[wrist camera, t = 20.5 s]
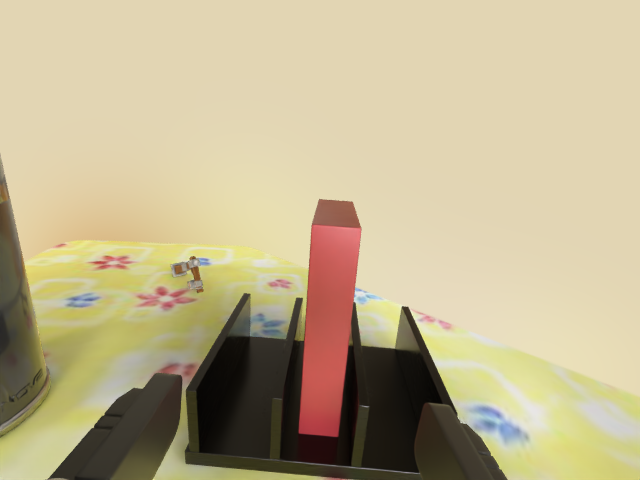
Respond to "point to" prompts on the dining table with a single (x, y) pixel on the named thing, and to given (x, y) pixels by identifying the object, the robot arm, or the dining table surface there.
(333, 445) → the book rack
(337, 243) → the book
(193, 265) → the brown two-tone jointed fixture
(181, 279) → the dining table surface
